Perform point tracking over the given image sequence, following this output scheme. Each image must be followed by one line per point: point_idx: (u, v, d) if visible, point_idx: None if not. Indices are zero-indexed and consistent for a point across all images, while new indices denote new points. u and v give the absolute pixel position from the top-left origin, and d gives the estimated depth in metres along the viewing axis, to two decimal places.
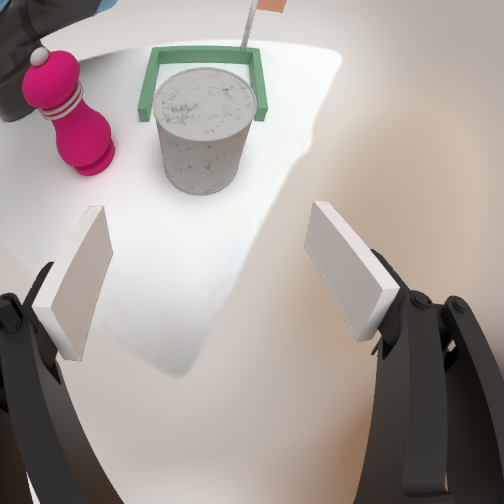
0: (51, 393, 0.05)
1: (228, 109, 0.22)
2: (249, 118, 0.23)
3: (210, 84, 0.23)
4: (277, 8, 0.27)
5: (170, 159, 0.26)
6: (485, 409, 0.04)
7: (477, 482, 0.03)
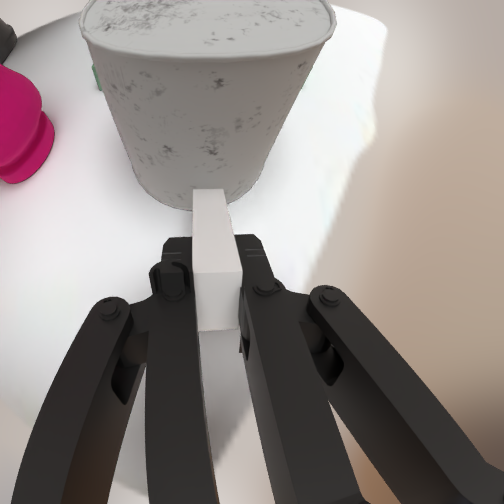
0: (200, 374, 0.06)
1: (268, 7, 0.07)
2: (325, 30, 0.07)
3: None
4: None
5: (126, 136, 0.10)
6: (401, 422, 0.05)
7: (424, 490, 0.04)
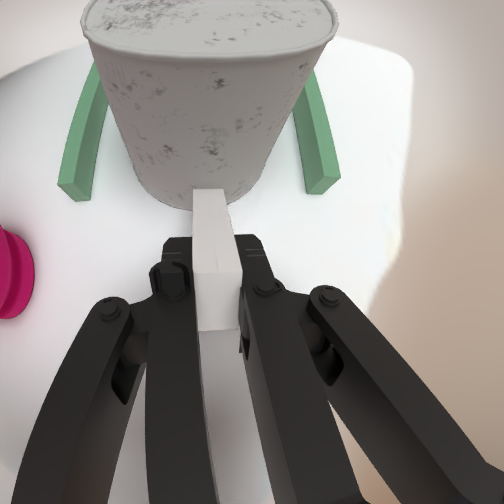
0: (200, 374, 0.06)
1: (270, 8, 0.07)
2: (327, 31, 0.07)
3: None
4: None
5: (127, 135, 0.10)
6: (401, 422, 0.05)
7: (424, 490, 0.04)
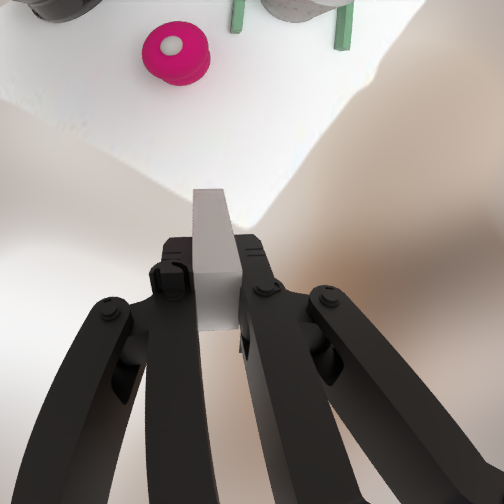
0: (200, 375, 0.06)
1: None
2: None
3: None
4: None
5: None
6: (401, 422, 0.05)
7: (424, 490, 0.04)
